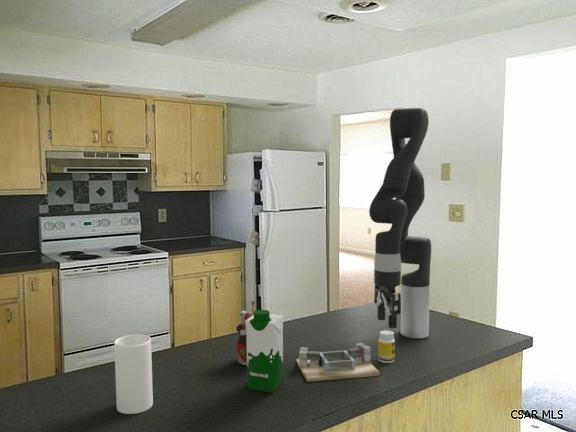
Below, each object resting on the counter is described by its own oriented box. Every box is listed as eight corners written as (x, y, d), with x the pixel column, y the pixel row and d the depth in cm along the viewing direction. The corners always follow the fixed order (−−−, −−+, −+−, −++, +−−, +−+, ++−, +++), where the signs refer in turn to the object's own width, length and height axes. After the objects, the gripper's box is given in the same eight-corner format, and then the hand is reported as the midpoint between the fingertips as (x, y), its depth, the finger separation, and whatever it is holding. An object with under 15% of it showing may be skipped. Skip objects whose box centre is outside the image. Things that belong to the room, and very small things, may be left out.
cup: (121, 398, 123) (119, 334, 121) (155, 397, 124) (153, 333, 122) (112, 414, 115) (110, 346, 113) (149, 413, 115) (147, 345, 114)
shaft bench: (295, 362, 146) (294, 345, 145) (363, 356, 149) (363, 340, 149) (305, 381, 132) (305, 363, 131) (380, 375, 136) (381, 357, 135)
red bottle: (277, 358, 148) (276, 299, 147) (262, 370, 140) (261, 306, 138) (245, 353, 153) (245, 295, 151) (229, 364, 144) (228, 303, 143)
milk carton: (242, 390, 127) (241, 312, 125) (256, 376, 136) (255, 303, 134) (275, 395, 124) (274, 316, 122) (287, 380, 133) (286, 306, 131)
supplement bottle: (394, 364, 144) (395, 335, 143) (377, 362, 145) (378, 334, 144) (394, 357, 148) (394, 330, 148) (378, 356, 149) (378, 329, 149)
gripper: (410, 272, 138) (409, 330, 139) (390, 263, 152) (389, 316, 153) (384, 273, 136) (383, 331, 138) (366, 264, 150) (365, 317, 152)
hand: (386, 323), depth 145 cm, fingers open, 8 cm apart
